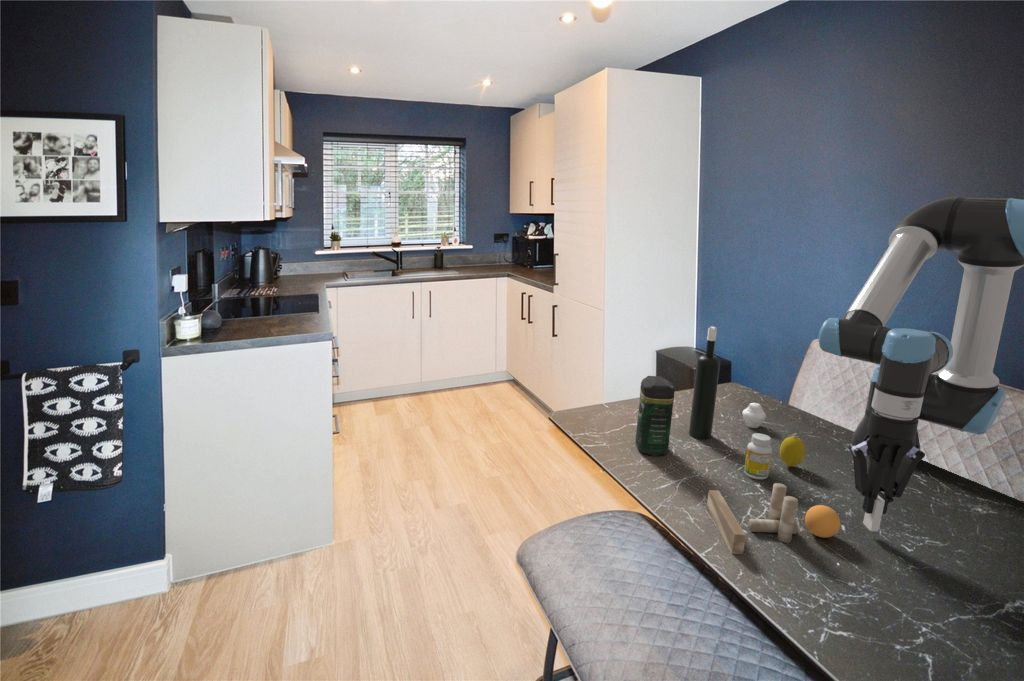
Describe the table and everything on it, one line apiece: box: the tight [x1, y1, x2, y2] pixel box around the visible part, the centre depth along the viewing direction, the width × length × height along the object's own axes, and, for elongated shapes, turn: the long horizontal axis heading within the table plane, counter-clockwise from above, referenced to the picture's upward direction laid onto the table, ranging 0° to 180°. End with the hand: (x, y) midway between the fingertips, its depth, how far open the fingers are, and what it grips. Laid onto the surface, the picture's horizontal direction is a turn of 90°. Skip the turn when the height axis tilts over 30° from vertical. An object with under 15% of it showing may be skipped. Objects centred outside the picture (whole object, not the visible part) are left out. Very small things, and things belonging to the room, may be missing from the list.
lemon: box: [779, 435, 806, 467], centre depth 141 cm, size 6×6×8 cm
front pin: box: [747, 518, 799, 535], centre depth 114 cm, size 2×2×8 cm
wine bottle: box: [688, 325, 721, 440], centre depth 155 cm, size 6×6×30 cm
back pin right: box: [767, 482, 788, 520], centre depth 116 cm, size 2×2×8 cm
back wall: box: [706, 489, 747, 555], centre depth 114 cm, size 2×16×4 cm, turn 178°
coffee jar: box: [634, 375, 676, 456], centre depth 147 cm, size 10×8×19 cm
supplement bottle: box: [743, 432, 773, 480], centre depth 136 cm, size 5×5×10 cm
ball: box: [804, 504, 841, 539], centre depth 113 cm, size 6×6×6 cm
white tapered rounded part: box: [741, 402, 767, 429], centre depth 165 cm, size 6×6×7 cm
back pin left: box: [776, 495, 799, 544], centre depth 111 cm, size 2×2×8 cm
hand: (870, 527), depth 114 cm, fingers closed
